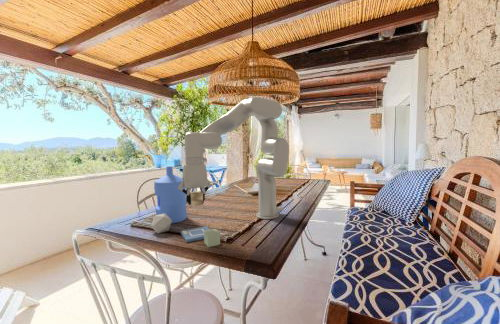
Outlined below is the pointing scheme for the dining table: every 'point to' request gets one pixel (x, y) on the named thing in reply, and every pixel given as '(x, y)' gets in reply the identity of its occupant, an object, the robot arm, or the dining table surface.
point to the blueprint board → (194, 234)
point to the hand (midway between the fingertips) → (195, 202)
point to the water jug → (170, 197)
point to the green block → (212, 237)
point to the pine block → (196, 198)
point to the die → (161, 223)
